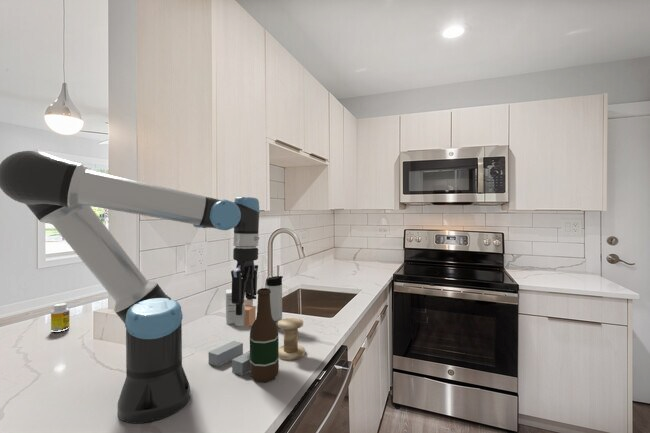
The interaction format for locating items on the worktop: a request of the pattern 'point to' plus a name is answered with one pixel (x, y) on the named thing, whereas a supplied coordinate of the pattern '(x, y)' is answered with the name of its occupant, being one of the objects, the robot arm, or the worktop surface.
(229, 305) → the supplement box
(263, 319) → the beer bottle
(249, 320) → the block
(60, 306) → the supplement bottle
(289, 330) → the bobbin
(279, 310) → the travel mug
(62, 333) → the worktop surface
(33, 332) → the worktop surface
